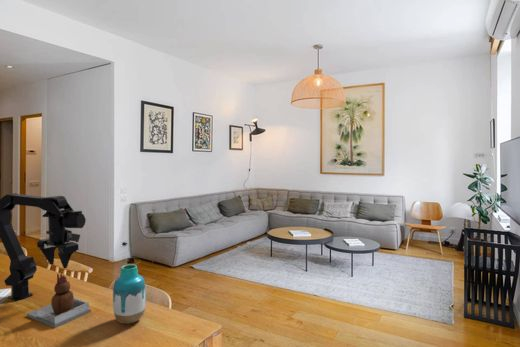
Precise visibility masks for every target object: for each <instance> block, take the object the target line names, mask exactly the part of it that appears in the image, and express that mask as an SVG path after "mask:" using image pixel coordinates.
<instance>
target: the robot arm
mask: <svg viewBox="0 0 520 347" xmlns="http://www.w3.org/2000/svg"><path fill="white" fill-rule="evenodd" d="M16 206H24V207H25V206H27V207H33V208H40V209H41V210H43V211H46V212H45V213H44V214H43V215H42V218H47V220H48V223H47V224H48V230H46V233H45V234H46V235H48V238H43V239H39V240H38V241H37V242H36V245H37V248H39V249H38V250H40V251H41V253H42V254H43V255H44V256H43V257H44V258H46V260H47V262H48V263H49V265H50V266H53V265H54V262H55V251H56V250H57V251H58V252H57V255H58V257H59V260H60V262H61V265H62V268H63V269H67V268H68V265H69V262H70V259H71V256H72V255H73V254H74V253H76V252H77V251H79V250H80V249H79V245H80V244H78V243H79V241H80V238H81V234H79V233H73V232H72V230H70V229H83V228H84V226H85V225H86V220H87V219H86V217H85V214H83V211H82V210H74V209H73V207H72V206H71V205H70V203H69V202H68V201H67V198H66V197H65V196H63V195H53V196H37V195H29V194H20V193H16V192H14V193H8V194H5V195H3V196H2V197H1V198H0V241H1V243H2V245H3V247H4V249H5V251H6V253H7V256H8V257H9V260H10V263H9V273H10V274H9V275H8V276H7V277H6V279H5V280H4V284H5V286H6V287H7V286H8V287H10V288H11V289H10V290H11V295H8V296H7V299H9V300H12V301H15V302H17V301H20V300H23V299H25V298H29V297H31V296H33V295H34V293H33V292H30V288H29V283H30V282H29V280H31V279H34V275H35V274H36V272H37V271H38V270H37V266H38V264H37V263H36V261H35V258H34V256H27V255H26V254H25V252H24V250H23V248H22V246H21V243H20V241H19V238H18V236H17V235H16V232H15V230H14V228H13V225H12V224H11V221H12V210H14V209H15V208H16Z"/></svg>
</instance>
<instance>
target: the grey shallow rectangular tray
mask: <svg viewBox="0 0 520 347" xmlns="http://www.w3.org/2000/svg"><path fill="white" fill-rule="evenodd" d="M91 312H92V310H91V308H90V303H89V302H87V301H85V300H82V299H79V298H77V297H74V303H73V307H72V309H71V310H68V311H66V312H64V313H61V314H59V315H57V314H55V313H54V311H53V309H52V305H51V304H48V305H45V306H43V307H40V308H38V309H35V310H33V311H30V312H27V313H26V317H29V318H30V319H31V320H32V319H33V320H35V321H38V322H39V323H42V324H45V325H46V326H49V327H51V328H53V329H56V328H58V327H61V326H63V325H64V324H67V323H69V322H71V321H74V320H76V319H78V318H80V317H83V316H85V315H88V314H90V313H91Z"/></svg>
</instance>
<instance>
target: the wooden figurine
mask: <svg viewBox="0 0 520 347" xmlns="http://www.w3.org/2000/svg"><path fill="white" fill-rule="evenodd" d="M56 280H57V281H56V283H55V285H54V287H53V288H54V290H53V291H54V293H55V294H54V295H53V296H52V298H51V305H52V309H53V311H54V313H55V314H57V315H59V314H61V313H64V312H66V311H68V310H71V309H72V307H73V303H74V298H75V296H74V293H73V292H72V291H71V290H70V289H71V283H70V281H68V280H67V277H66V276H65V275H64V274H63V273H62V272H61V273H60V275H59V273H57V275H56Z"/></svg>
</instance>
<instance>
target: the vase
mask: <svg viewBox="0 0 520 347" xmlns="http://www.w3.org/2000/svg"><path fill="white" fill-rule="evenodd" d="M119 271H120V273H119V277H117V278H116V279H115V280H114V282H113V286H112V307H113V314H114V317H115V320H117V322H119V323H121V324H131V323H135V322H137V321H139V320H140V319H141V318H142V317H143V316H144V314H145V312H146V306H147V305H146V304H147V301H146V299H147V295H146V294H147V293H146V282H145V279H144V277H143V275H140V274H139V273H138V266H137V264H133V263H132V264H125V265H121V267H120V269H119Z"/></svg>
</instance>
